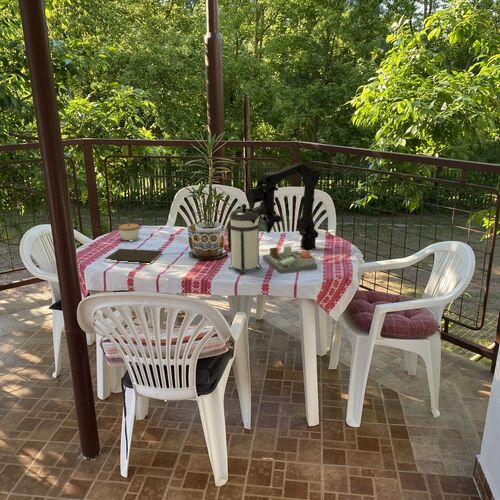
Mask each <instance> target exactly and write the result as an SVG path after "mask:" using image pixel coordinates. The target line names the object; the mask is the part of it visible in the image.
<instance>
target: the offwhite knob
mask: <svg viewBox="0 0 500 500" xmlns="http://www.w3.org/2000/svg"><path fill="white" fill-rule="evenodd" d="M292 248H293V247H292V246H290V245H285V246H283V252H284V255H286V256H290V255H292V252H293V249H292Z"/></svg>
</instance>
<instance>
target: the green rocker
mask: <svg viewBox="0 0 500 500" xmlns="http://www.w3.org/2000/svg"><path fill="white" fill-rule="evenodd" d="M294 261H295V258H293V257H292V256H291V257H289V258H286V259H284V260H282V261H280V263H281V264H282V265H283V266H284V265H286V264H289V263H291V262H294Z"/></svg>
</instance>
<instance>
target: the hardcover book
mask: <svg viewBox="0 0 500 500" xmlns="http://www.w3.org/2000/svg"><path fill="white" fill-rule="evenodd" d="M162 253H163V250H154V249H153V250H151V249H149V250H148V249H130V248H118V249H117V250H115V251H114V252H112V253H111V254H109V255H108V256H106V257H105V258H104V260H105V259H111V260H117V261H128V262H139V263H151V262H152V261H153V260H155V259H156V258H157V257H158V258H160V257H161V256H162V255H161V254H162ZM160 255H161V256H160ZM159 256H160V257H159ZM158 258H157V259H158ZM157 259H156V260H157ZM156 260H155V261H156ZM152 263H153V262H152ZM152 263H151V264H152Z"/></svg>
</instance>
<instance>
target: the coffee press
mask: <svg viewBox="0 0 500 500" xmlns="http://www.w3.org/2000/svg"><path fill="white" fill-rule="evenodd" d="M259 218H260V216H259V215H258V213H257V212H256V211H255V210H253V208H247V204H245V203H242V204H241V207H240V208H236V209H234V210H233V211H231V213H230V214H229V219H230V220H229V222H228V224H227V246H228V250H229V251H230V252H229V253H230V264H229V266H228V269H229V270H232V269H233V268H235V269H237V270H240V274H241V275H245V271H247V270H253V269H255V268H256V269H257V270H258V271H261V270H262V269H263V268H262V265H261V264H260V242H259V241H260V240H259V239H260V236H259V235H260V234H259V233H260V232H259V226H260V224H259ZM231 265H232V267H231ZM258 266H259V267H258Z"/></svg>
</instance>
